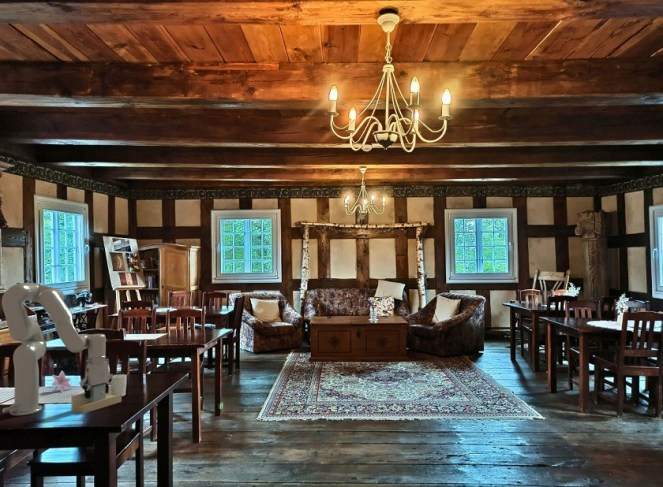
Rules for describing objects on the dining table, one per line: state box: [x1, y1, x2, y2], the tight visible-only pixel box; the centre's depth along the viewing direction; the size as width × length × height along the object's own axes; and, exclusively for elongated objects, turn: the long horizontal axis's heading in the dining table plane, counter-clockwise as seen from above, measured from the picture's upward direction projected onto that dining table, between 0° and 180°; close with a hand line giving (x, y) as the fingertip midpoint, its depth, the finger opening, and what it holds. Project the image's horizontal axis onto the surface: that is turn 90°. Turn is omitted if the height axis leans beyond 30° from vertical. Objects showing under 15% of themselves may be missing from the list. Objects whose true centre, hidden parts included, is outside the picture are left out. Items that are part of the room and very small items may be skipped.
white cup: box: [109, 373, 128, 397], centre depth 243 cm, size 8×8×10 cm
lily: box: [51, 370, 73, 393], centre depth 255 cm, size 12×12×10 cm
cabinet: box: [87, 383, 106, 403], centre depth 225 cm, size 6×6×8 cm
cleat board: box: [70, 385, 122, 414], centre depth 225 cm, size 20×9×7 cm, turn 152°
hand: (96, 395), depth 225 cm, fingers open, 9 cm apart
